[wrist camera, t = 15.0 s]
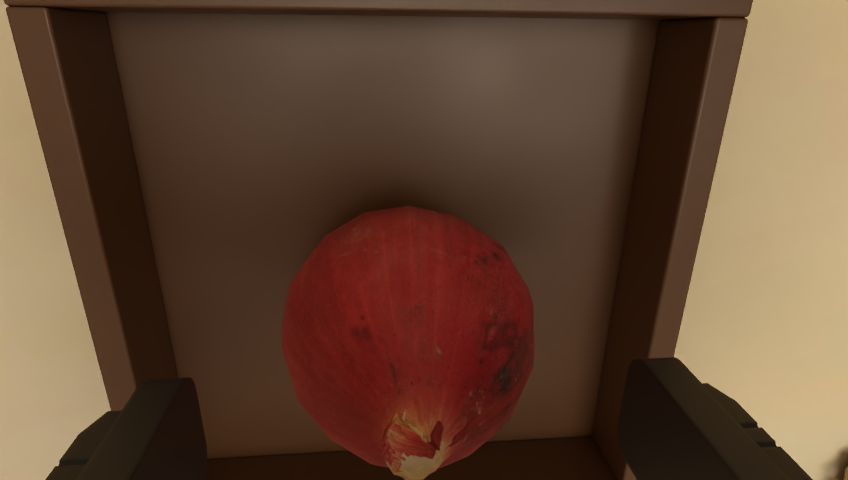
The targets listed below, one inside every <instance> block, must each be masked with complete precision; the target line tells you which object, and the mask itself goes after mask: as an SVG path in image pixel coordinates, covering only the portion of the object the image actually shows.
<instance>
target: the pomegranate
mask: <svg viewBox="0 0 848 480" xmlns="http://www.w3.org/2000/svg"><path fill="white" fill-rule="evenodd" d="M282 350H283V353H284V357H285V360H286V364H287V367H288V371H289V374H290V378H291V381H292V385H293V388H294V391H295V394H296V397H297V399H298V402H299V403H300V404H301V405H302V407H303V408H304V409H305V410H306V411H307V412H308V414H309V415H310V416H311V417H312V418H313V419H314V421H315V422H316V423H317V424H318V425H319V426H320V427H321V429H322V430H323V431H324V432H325V433H326V434H327V436H328V437H329V438H330V439H331V440H332V441H334V442H336V443H337V444H339V445H340V446H342V447H344V448H345V449H347V450H349V451H350V452H352V453H353V454H355V455H357V456H358V457H360V458H362V459H363V460H365V461H367V462H368V463H370V464H373V465H377V466H383V467H388V468H390V470H391V471H392V473H393V474H394V475H397V476H400V477H402V478H404V479H405V480H423V479H424V478H425V477H427V476H428V475H429V474H431V473H433V472H435V471H436V470H437V469H438V468H442V467H444V466H446V465H449V464H451V463H454V462H456V461H458V460H461V459H463V458H465V457H468V456H469V455H471V454H472V453H473V452H474V451H475V450H477V449H478V448H479V447H480V446H481V445H483V444H484V443H485V442H486V441H487V440H489V439H490V438H491V437H492V436H494V435H495V434H496V433H497V432H498V431H500V430H501V429H502V428H503V427H504V426H505V425H506V424H507V423H508V421H509V420H510V419H511V417H512V414H513V412H514V410H515V408H516V405H517V403H518V401H519V398H520V396H521V394H522V392H523V389H524V387H525V385H526V383H527V380H528V378H529V376H530V374H531V371H532V369H533V363H534V354H535V343H534V306H533V301H532V298H531V295H530V292H529V289H528V287H527V285H526V284H525V282H524V280H523V279H522V277H521V275H520V274H519V272H518V270H517V269H516V267H515V265H514V263H513V262H512V260H511V258H510V257H509V255H508V253H507V252H506V250H505V248H504V247H503V245H502V244H500V243H499V242H497V241H496V240H494V239H492V238H491V237H489V236H488V235H486V234H485V233H483V232H481V231H480V230H478V229H477V228H475V227H474V226H472V225H470V224H469V223H467V222H466V221H464V220H462V219H461V218H459V217H457V216H455V215H452V214H448V213H443V212H438V211H433V210H429V209H424V208H419V207H414V206H409V205H408V206H402V207H395V208H389V209H383V210H377V211H370V212H364V213H363V214H361V215H359V216H357V217H356V218H354V219H352V220H351V221H349V222H347V223H346V224H344V225H342V226H341V227H339V228H337V229H336V230H334V231H332V232H330V233H329V234H327V235H325V237H324V238H323V239H322V241H321V242H320V243H319V244H318V246H317V247H316V248H315V249H314V251H313V252H312V253H311V255H310V256H309V257H308V258H307V260H306V261H305V262H304V264H303V265H302V266H301V267H300V269H299V270H298V272H297V273H296V275H295V277H294V278H293V280H292V281H291V283H290V285H289V289H288V295H287V300H286V306H285V312H284V317H283V323H282Z"/></svg>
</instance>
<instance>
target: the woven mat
mask: <svg viewBox="0 0 848 480" xmlns="http://www.w3.org/2000/svg"><path fill="white" fill-rule="evenodd" d="M843 480H848V466H847V467H846V468H845V471H844V478H843Z"/></svg>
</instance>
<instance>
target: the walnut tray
mask: <svg viewBox="0 0 848 480" xmlns="http://www.w3.org/2000/svg"><path fill="white" fill-rule="evenodd" d="M4 2H5V4H6V5H8V6H9V7H7V8H6V12H7V16H8V19H9V23H10V27H11V31H12V35H13V39H14V42H15V46H16V50H17V54H18V58H19V61H20V65H21V69H22V73H23V77H24V80H25V84H26V88H27V92H28V96H29V99H30V103H31V107H32V111H33V115H34V118H35V122H36V126H37V130H38V134H39V138H40V141H41V145H42V149H43V153H44V157H45V160H46V164H47V168H48V172H49V176H50V179H51V183H52V187H53V191H54V195H55V198H56V202H57V206H58V210H59V214H60V218H61V221H62V225H63V229H64V233H65V237H66V240H67V244H68V248H69V252H70V256H71V259H72V263H73V267H74V271H75V275H76V278H77V282H78V286H79V290H80V294H81V298H82V301H83V305H84V309H85V313H86V317H87V320H88V324H89V328H90V332H91V336H92V339H93V343H94V347H95V351H96V355H97V358H98V362H99V366H100V370H101V374H102V377H103V381H104V385H105V389H106V393H107V397H108V400H109V404H110V408H111V411H122V409H123V408H124V406H125V405H126V403H127V402H128V400H129V399H130V397H131V396H132V394H133V393H134V391H135V390H136V388H137V387H138V385H139V384H140V383H141V382H142V381H143V380H145V379H164V378H187V377H190V378H192V379H193V381H194V383H195V386H196V390H197V395H198V401H199V406H200V411H201V417H202V422H203V427H204V433H205V438H206V444H207V465H206V472H205V477H204V480H405V479H404V478H402V477H400V476H397V475H394V474H393V473H392V471H391V470H390V468H388V467H383V466H377V465H373V464H370V463H368V462H367V461H365V460H363V459H362V458H360V457H358V456H357V455H355V454H353V453H352V452H350V451H349V450H347V449H345V448H344V447H342V446H340V445H339V444H337V443H336V442H334V441H332V440H331V439H330V438H329V437H328V436H327V434H326V433H325V432H324V431H323V430H322V429H321V427H320V426H319V425H318V424H317V423H316V422H315V421H314V419H313V418H312V417H311V416H310V415H309V414H308V412H307V411H306V410H305V409H304V408H303V407H302V405H301V404H300V403H299V402H298V399H297V397H296V394H295V391H294V388H293V385H292V381H291V378H290V374H289V371H288V367H287V364H286V360H285V357H284V353H283V350H282V323H283V317H284V312H285V306H286V300H287V295H288V289H289V285H290V283H291V281H292V280H293V278H294V277H295V275H296V273H297V272H298V270H299V269H300V267H301V266H302V265H303V264H304V262H305V261H306V260H307V258H308V257H309V256H310V255H311V253H312V252H313V251H314V249H315V248H316V247H317V246H318V244H319V243H320V242H321V241H322V239H323V238H324V237H325V235H327V234H329V233H330V232H332V231H334V230H336V229H337V228H339V227H341V226H342V225H344V224H346V223H347V222H349V221H351V220H352V219H354V218H356V217H357V216H359V215H361V214H363V213H364V212H370V211H377V210H383V209H389V208H395V207H402V206H408V205H409V206H414V207H419V208H424V209H429V210H433V211H438V212H443V213H448V214H452V215H455V216H457V217H459V218H461V219H462V220H464V221H466V222H467V223H469V224H470V225H472V226H474V227H475V228H477V229H478V230H480V231H481V232H483V233H485V234H486V235H488V236H489V237H491V238H492V239H494V240H496V241H497V242H499V243H500V244H502V245H503V247H504V248H505V250H506V252H507V253H508V255H509V257H510V258H511V260H512V262H513V263H514V265H515V267H516V269H517V270H518V272H519V274H520V275H521V277H522V279H523V280H524V282H525V284H526V285H527V287H528V289H529V292H530V295H531V298H532V301H533V306H534V343H535V354H534V363H533V369H532V371H531V374H530V376H529V378H528V380H527V383H526V385H525V387H524V389H523V392H522V394H521V396H520V398H519V401H518V403H517V405H516V408H515V410H514V412H513V414H512V417H511V419H510V420H509V421H508V423H507V424H506V425H505V426H504V427H503V428H502V429H501V430H500V431H498V432H497V433H496V434H495V435H494V436H492V437H491V438H490V439H489V440H487V441H486V442H485V443H484V444H483V445H481V446H480V447H479V448H478V449H477V450H475V451H474V452H473V453H472V454H471V455H469V456H468V457H465V458H463V459H461V460H458V461H456V462H454V463H451V464H449V465H446V466H444V467H442V468H438V469H437V470H436V471H435V472H433V473H431V474H429V475H428V476H427V477H425V478H424V479H423V480H636V478H635V476H634V474H633V473H632V471H631V469H630V468H629V466H628V464H627V462H626V461H625V459H624V457H623V455H622V452H621V449H620V446H619V441H618V434H617V424H618V418H619V413H620V408H621V403H622V397H623V392H624V387H625V381H626V376H627V371H628V367H629V365H630V363H631V361H632V360H634V359H645V358H668V357H674V352H675V348H676V343H677V339H678V334H679V330H680V325H681V320H682V316H683V311H684V307H685V302H686V298H687V293H688V289H689V284H690V280H691V275H692V271H693V266H694V262H695V257H696V253H697V248H698V244H699V239H700V235H701V230H702V226H703V221H704V217H705V212H706V208H707V203H708V199H709V194H710V190H711V185H712V181H713V176H714V172H715V167H716V163H717V158H718V154H719V149H720V145H721V140H722V136H723V131H724V127H725V122H726V118H727V113H728V109H729V104H730V100H731V95H732V91H733V86H734V82H735V77H736V73H737V68H738V64H739V59H740V55H741V50H742V46H743V41H744V37H745V32H746V28H747V23H748V20H747V19H746V18H744V17H747V16H749V14H750V11H751V6H752V2H753V0H4Z"/></svg>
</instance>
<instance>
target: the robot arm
mask: <svg viewBox="0 0 848 480" xmlns="http://www.w3.org/2000/svg"><path fill="white" fill-rule="evenodd" d="M617 434H618V441H619V446H620V449H621V452H622V455H623V457H624V459H625V461H626V462H627V464H628V466H629V468H630V469H631V471H632V473H633V474H634V476H635V478H636V480H812V479H811V478H810V476H809V475H808V474H807V473H806V472H805V471H804V470H803V469H802V468H801V467H800V466H799V465H798V464H797V463H796V462H795V461H794V460H793V459H792V458H791V457H790V456H789V455H788V454H787V453H786V452H785V451H784V450H783V449H782V448H781V447H777V446H776V444H775V441H774V440H773V439H772V438H771V437H770V436H769V435H768V434H767V433H766V431H765V430H764V429H763V428H758V426H757V422H756V421H755V420H754V419H753V418H752V417H751V416H750V415H749V414H748V413H747V412H746V411H745V410H744V409H743V408H742V407H741V406H740V405H739V404H738V403H737V402H736V401H735V400H733V399H732V398H730V397H728V396H727V395H725V394H724V393H722V392H720V391H719V390H717V389H716V388H714V387H712V386H711V385H709V384H708V383H703V384H702V383H701V382H700V381H699V380H698V379H697V378H696V377H695V376H694V375H693V374H692V373H691V372H690V371H689V369H688V368H687V367H686V366H685V365H684V364H683V363H682V362H681V361H680V360H679V359H677V358H674V357H668V358H645V359H634V360H632V361H631V363H630V365H629V367H628V371H627V376H626V381H625V387H624V392H623V397H622V403H621V408H620V413H619V418H618V424H617ZM206 465H207V444H206V438H205V433H204V427H203V422H202V417H201V411H200V406H199V401H198V395H197V390H196V386H195V383H194V381H193V379H192V378H190V377H187V378H164V379H145V380H143V381H142V382H141V383H140V384H139V385H138V387H137V388H136V390H135V391H134V393H133V394H132V396H131V397H130V399H129V400H128V402H127V403H126V405H125V406H124V408H123V409H122V411H108V412H107V413H105V414H104V415H103V416H102V417H100V418H99V419H98V420H96V421H95V422H94V423H93V424H91V425H90V426H89V427H88V428H86V429H85V430H84V431H82V432H81V433H80V434H79V435H78V436H77V438H76V439H75V440H74V442H73V443H72V444H71V446H70V447H69V449H68V450H67V451H66V453H65V454H64V455H63V457H62V458H61V459H60V463H59V466H55V468H54V469H53V470H52V472H51V473H50V474H49V476H48V477H47V479H46V480H204V477H205V472H206Z"/></svg>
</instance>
